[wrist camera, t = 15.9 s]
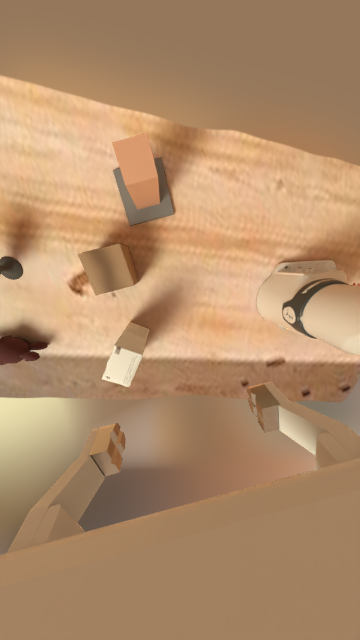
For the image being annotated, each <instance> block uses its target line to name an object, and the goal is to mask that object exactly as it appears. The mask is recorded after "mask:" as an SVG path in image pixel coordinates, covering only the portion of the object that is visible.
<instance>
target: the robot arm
mask: <svg viewBox="0 0 360 640" xmlns="http://www.w3.org/2000/svg"><path fill="white" fill-rule="evenodd" d="M285 267H286V269H285ZM257 308H258V311H259V313H260V315H261V316H262V317H263V318H264V319H266V320H268V321H270V322H273V323H275V324H276V325H277V326H278V327H279V328H281V329H286V328H287V329H289V330H292V331H295V332H297V333H300V334H303V335H305V336H309V337H311V338H315V339H319V340H321V341H323V342H325V343H327V344H329V345H331V346H333V347H335V348H337V349H339V350H341V351H343V352H346V353H348V354H352V355H360V284H358V285H357V286H356V285H355V283H353V285H349V284H348V279H347V275H346V273H345V272H344V271H343V270H338V269H337V266H336V264H335V262H334V261H333V260H315V261H298V262H281V263H279V264H277V266H276V267H275V269H274V271H273V273H272V275H271V276H270V277H269V278H268V279H267V280H266V281H265V282H264V284H263V285H262V287H261V288H260V290H259V293H258V296H257ZM246 390H247V394H248V396H249V397H248V402H249V406H250V409H251V411H252V412H253V414H254V415H255V416H256V417H257V418H258V423H259V425H260V426H261V428H262V429H263V431H264V432H265V433H266V432H270V431H274V430H279V429H280V431H281V432H283V433H284V434H286V435H287V436H289V437H290V438H291V439H293V440H294V441H296V442H297V443H298V444H300V445H301V446H303V447H304V448H306V449H307V450H308V451H310V452H311V453H313V454H314V455H315V456H316V458H315V470H312V471H309V472H305V473H301V474H298V475H294V476H290V477H287V478H283V479H279V480H275V481H272V482H268V483H264V484H261V485H257V486H253V487H250V488H246V489H242V490H239V491H235V492H231V493H227V494H224V495H220V496H216V497H213V498H209V499H205V500H202V501H198V502H194V503H191V504H187V505H183V506H180V507H176V508H172V509H169V510H165V511H161V512H157V513H154V514H150V515H147V516H143V517H139V518H135V519H132V520H128V521H125V522H121V523H117V524H114V525H110V526H106V527H102V528H99V529H95V530H91V531H88V532H84V530H83V529H82V528H81V527H80V525H79V524H78V521H79V519H80V518H81V516H82V514H83V513H84V511H85V510H86V508H87V506H88V505H89V503H90V501H91V500H92V498H93V496H94V495H95V493H96V491H97V489H98V488H99V486H100V485H101V483H102V482H103V480H104V478H105V476H108V475H111V474H115V473H118V472H120V468H121V464H122V459H123V458H122V456H121V454H122V453H123V451H124V449H125V435H124V433H123V432H122V431H120V426H119V424H118V423H116V424H112V425H108V426H104V427H100V428H96V429H93V430H92V431H91V432H90V435H89V436H88V439H87V441H86V443H85V446H84V448H83V450H82V452H81V455H80V457H79V459H77V460H75V461H74V463H73V464H72V465H71V466H70V467H69V468H68V469H67V470H66V472H65V473H64V474H63V475H62V476H61V477H60V478H59V479H58V480H57V482H55V484H54V485H53V486H52V487H51V488H50V489H49V490H48V491H47V492H46V494H45V495H44V496H43V497H42V498H41V499H40V500H39V501H38V502H37V503H36V505H35V506H34V507H33V508H32V509H31V510H30V511H29V513H28V515H27V517H26V519H25V521H24V522H23V524H22V526H21V528H20V530H19V532H18V534H17V535H16V537H15V539H14V541H13V543H12V545H11V546H10V548H9V550H8V552H7V553H6V554H3V555H0V640H360V437H359V436H358V435H357V434H356V433H355V432H354V431H353V430H351V429H350V428H349V427H348V426H347V425H345V424H342V423H340V422H338V421H336V420H333V419H331V418H329V417H327V416H324V415H322V414H320V413H318V412H316V411H313V410H311V409H309V408H307V407H304V406H302V405H300V404H298V403H295V402H293V401H292V402H290V401H289V400H288V399H287V398H286V397H285V396H284V395H283V393H282V392H281V391H280V390H279V389H278V388H277V387H276V386H275V385H274V384H273V383H272V382H271V381H270V382H267V383H263V384H259V385H256V386H252V387H249V388H247V389H246Z"/></svg>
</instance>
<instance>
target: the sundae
mask: <svg viewBox="0 0 360 640" xmlns="http://www.w3.org/2000/svg"><path fill="white" fill-rule="evenodd" d="M0 274H2V275H4V276H5V277H7V278H9V279H13V280H14V279H18V278H20V277H21V275H22V267H21V265H20V264H19V262H18V261H17V260H15V259H13V258H11V257H2V258H1V259H0Z"/></svg>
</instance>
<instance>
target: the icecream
mask: <svg viewBox="0 0 360 640" xmlns="http://www.w3.org/2000/svg"><path fill="white" fill-rule="evenodd" d="M45 348H47V344H46V343H42V342H37V343H32V344H28V343H27V341H25V340H22V339H20V338H16V337H12V336H6V337H2V338H1V339H0V365H4V364H7V363H18V362H20V361H21V360H23V359H25V361H34V360H37V359H39V358H40V356H39V354H38V353H36V352H30V350H41V349H45Z"/></svg>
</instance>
